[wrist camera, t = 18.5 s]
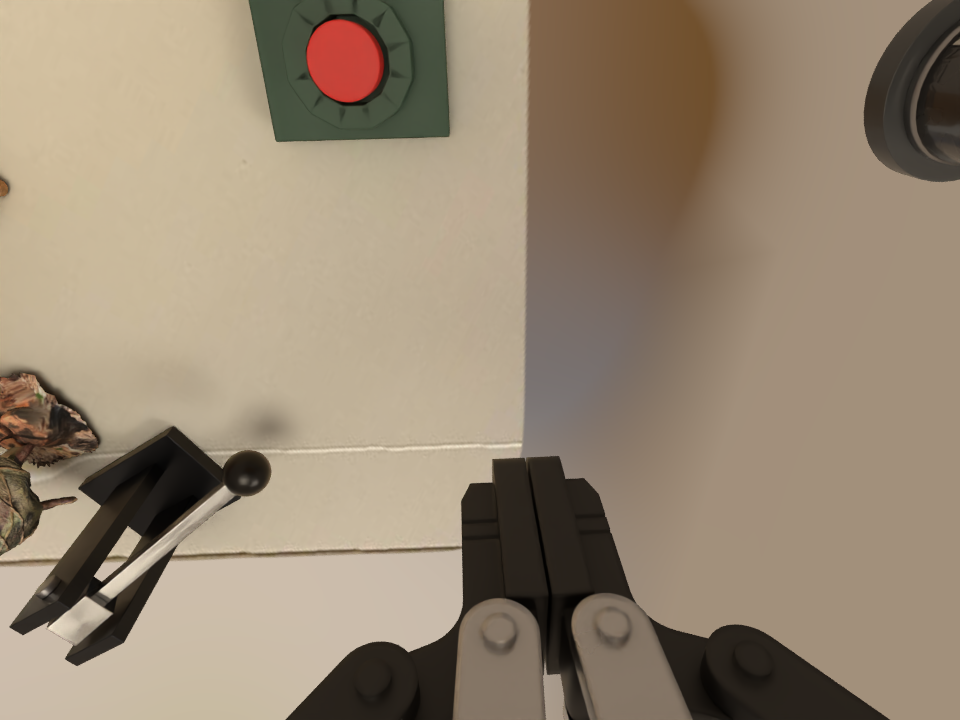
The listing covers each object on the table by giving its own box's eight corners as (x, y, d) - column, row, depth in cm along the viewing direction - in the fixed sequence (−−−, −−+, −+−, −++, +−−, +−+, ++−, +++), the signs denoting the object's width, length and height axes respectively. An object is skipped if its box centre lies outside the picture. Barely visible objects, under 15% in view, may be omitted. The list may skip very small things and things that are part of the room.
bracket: (173, 425, 44) (68, 568, 32) (244, 489, 47) (174, 639, 35) (85, 478, 46) (-44, 631, 34) (160, 535, 50) (66, 691, 38)
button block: (442, -27, 30) (441, -36, 26) (449, 131, 34) (449, 141, 30) (256, -23, 30) (230, -32, 26) (285, 136, 34) (266, 146, 30)
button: (380, 19, 28) (375, 18, 26) (387, 98, 30) (384, 101, 28) (308, 21, 28) (299, 20, 26) (319, 100, 30) (312, 103, 28)
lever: (248, 434, 40) (251, 450, 37) (278, 463, 41) (283, 480, 39) (49, 598, 37) (37, 628, 34) (89, 623, 38) (80, 654, 35)
